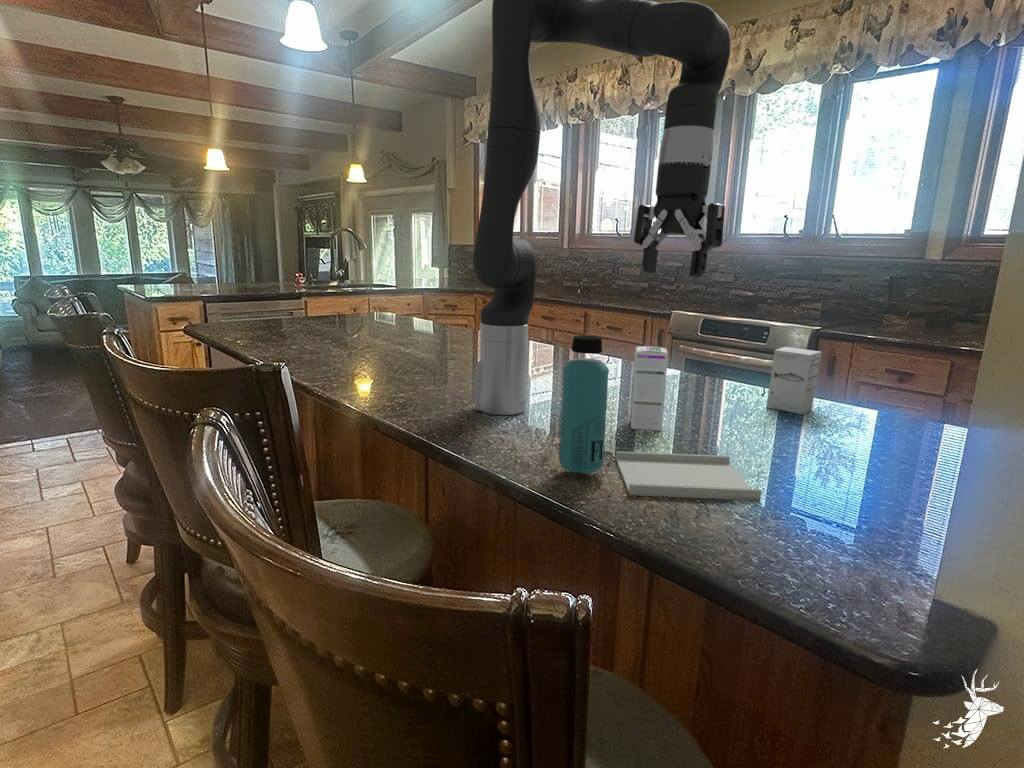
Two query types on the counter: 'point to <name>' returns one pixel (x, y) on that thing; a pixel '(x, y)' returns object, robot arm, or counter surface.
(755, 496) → the panel with raised edges
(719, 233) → the robot arm
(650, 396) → the syrup box
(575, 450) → the beverage bottle
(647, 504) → the counter surface
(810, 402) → the supplement box
